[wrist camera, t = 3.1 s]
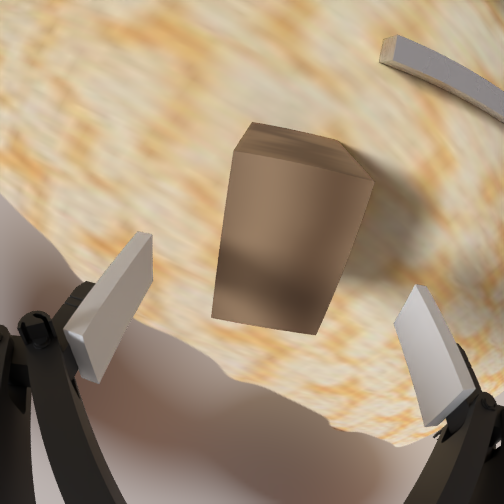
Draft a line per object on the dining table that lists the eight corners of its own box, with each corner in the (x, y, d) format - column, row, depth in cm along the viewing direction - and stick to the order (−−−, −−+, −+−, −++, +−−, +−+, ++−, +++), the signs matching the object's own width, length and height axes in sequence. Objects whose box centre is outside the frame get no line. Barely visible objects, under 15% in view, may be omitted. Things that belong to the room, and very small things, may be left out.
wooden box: (231, 246, 27) (209, 328, 19) (252, 121, 21) (233, 150, 13) (303, 260, 27) (311, 345, 19) (336, 140, 21) (374, 181, 13)
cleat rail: (378, 62, 18) (392, 60, 15) (383, 39, 17) (397, 34, 14) (508, 126, 18) (528, 133, 15) (512, 107, 17) (532, 113, 14)
